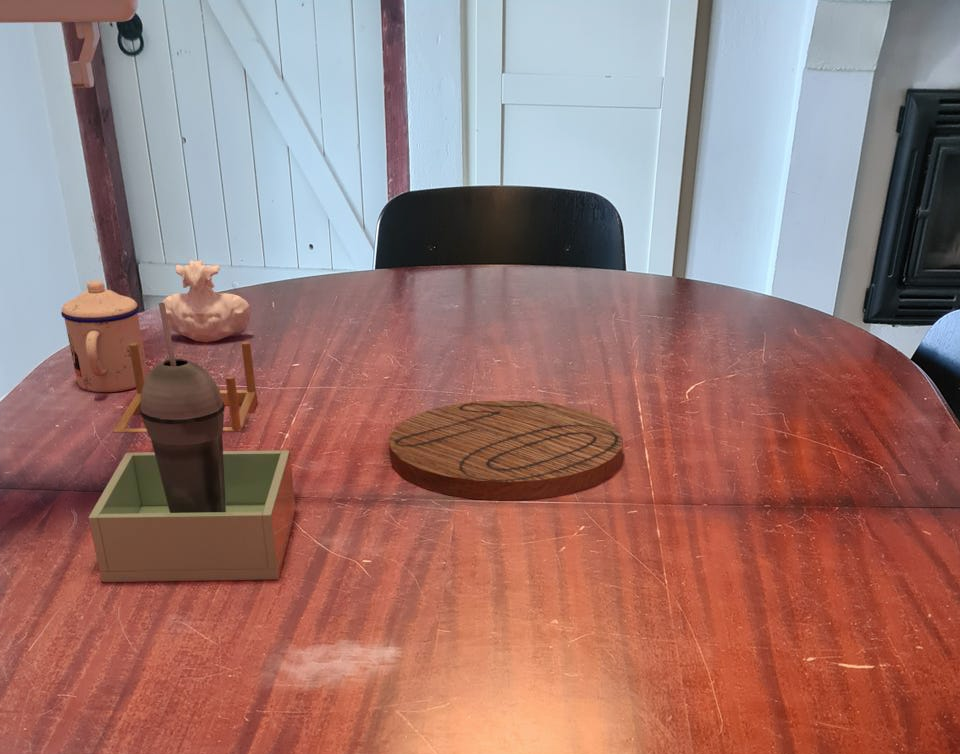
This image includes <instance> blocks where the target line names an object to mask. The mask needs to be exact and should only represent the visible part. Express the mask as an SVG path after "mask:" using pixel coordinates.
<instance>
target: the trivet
mask: <svg viewBox="0 0 960 754" xmlns="http://www.w3.org/2000/svg"><path fill="white" fill-rule="evenodd" d="M623 441H624V437H623V435H622V433H621V432H620V431H619V429H618V428H617V426H616V425H614V424H613V423H611V422H610V421H608V420H607V419H606V418H603V417H601V416H599V415H596V414H594V413H592V412H588V411H586V410H583V409H578V408H575V407H571V406H566V405H562V404H557V403H548V402H541V401H532V400H506V399H505V400H503V399H502V400H484V401H483V400H481V401H472V402H465V403H464V402H463V403H457V404H450V405H445V406H442V407H437V408H433V409H430V410H425V411H423V412H420V413H419V414H416V415H413V416H411V417H408V418H407V419H405V420H404V421H403V422H401V423H400V424H399V425H397V426H396V427H394V428H393V430H392V432H391V434H390V435H389V438H388V449H389V461H390V465H391V468H392V469H393V470H394V471H395V472H396V473H397V474H398V475H399V476H400V477H401V478H402V479H404V480H406V481H408V482H410V483H412V484H413V485H416V486H418V487H420V488H423V489H426V490H429V491H433V492H437V493H440V494H444V495H448V496H452V497H453V496H454V497H460V498H466V499H473V500H491V501H521V500H537V499H538V500H539V499H540V500H541V499H546V498H552V497H558V496H563V495H571V494H573V493H576V492H579V491H582V490H585V489H589V488H592V487H595V486H597V485H598V484H600V483H602V482H604V481H606V480H607V479H609V478H612V476H614V474H615V473H616V472H617V471H618V470H619V468H620V467H621V466H622V465H621V464H622V455H623Z"/></svg>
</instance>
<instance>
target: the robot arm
mask: <svg viewBox="0 0 960 754" xmlns="http://www.w3.org/2000/svg"><path fill="white" fill-rule="evenodd" d="M138 8H139V0H0V24H1V23H2V24H4V23H7V24H11V23H13V24H14V23H19V24H20V23H26V24H27V23H74V25H75V26H74V27H75V32H76V35H77V38H78V39H81V40H82V39H84V41H83V45H82V48H81V52H80V54H79V58H78V60H74V61H71V62H69V63H68V66H69V68H68V69H69V73H70V74H71V79H70V80H71V84H72V87H73V88H93V87H94V86H95V78H94V72H93V67H92V61H93V59H94V57H95V53H96V50H97V47H98V44H99V41H100V38H101V33H100V28H99V23H115V22H116V23H121V22H122V23H123V22H127V21H130V20H132V19H133V18H134V16H135V14H136V13H137V10H138Z"/></svg>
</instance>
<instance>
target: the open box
mask: <svg viewBox="0 0 960 754" xmlns="http://www.w3.org/2000/svg"><path fill="white" fill-rule="evenodd" d="M223 462H224V483H225V503H226V512H205V513H170V511H169V507H168V503H167V499H166V496H165V492H164V488H163V484H162V480H161V476H160V472H159V468H158V464H157V460H156V457H155V453H154V451H143V452H142V451H141V452H140V451H137V452H136V451H135V452H125V453H124V455H123V457H122V459H121V461H120V462H119V464H118V466H117V467H116V469H115V471H114V472H113V475H111V477H110V480H109V481H108V483H107V484H106V487H105V488H104V490H103V492H102V493H101V495H100V497H99V498H98V500H97V502H96V504H95V505H94V506H93V509H92V510H91V512H90V514H89V516H88V523H89V528H90V532H91V538H92V541H93V547H94V552H95V556H96V561H97V566H98V571H99V575H100V581H101V583H133V582H134V583H137V582H139V583H140V582H196V581H197V582H199V581H200V582H203V581H207V582H208V581H254V580H255V581H261V580H262V581H267V580H270V581H271V580H273V581H274V580H279V578H280V574H281V570H282V566H283V563H284V559H285V554H286V551H287V547H288V542H289V539H290V535H291V530H292V526H293V523H294V520H295V519H294V518H295V514H296V512H297V511H296V510H297V509H296V502H295V501H296V498H295V490H294V489H295V488H294V480H293V471H292V469H293V468H292V461H291V451H290V450H289V449H287V450H279V449H278V450H223Z"/></svg>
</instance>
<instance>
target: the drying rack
mask: <svg viewBox="0 0 960 754" xmlns="http://www.w3.org/2000/svg"><path fill="white" fill-rule="evenodd" d="M240 344H241V351H242V360H243V368H244V377H245V384H246V389H237V385H236V384H237V383H236V376H234V375H227V376H225V387H226V389H219V391H220V394H221V398H222V401H223V403H224V405H225V406H228V409H229V415H230V416H229V417H230V423H231V426H223V432H241V431H242V428H243V426H244V424H245V421H246V419H247V416H248V414H254V412H255V409H256V407H257V404H258V394H257V390H256V383H255V382H256V381H255V374H254V373H255V372H254V365H253V364H254V363H253V356H252V346H251V342H250V341H242V342H241V343H240ZM129 349H130V354H131V360H132V366H133V372H134V377H135V383H136V388H135V389H136V394H135V396H134V397H133V399H132V401H131V402H130V403H129V405H128V407H127V409H126V410H125V412H124V413H123V415H122V416H121V418H120V419H119V421H118V423H117V424H116V426H115V428H114V429H113V431H112V433H115V434H123V433H124V434H125V433H126V434H128V433H129V434H131V433H148V432H147V430H146V427H142V428H141V427H137V428H135V427H134V428H132V427H131V428H129V427H128V428H126V427H127V426H128V424H129V423H130V421H131V419H132V417H133V416H141V415H140V409H141V392H142V388H143V385H144V378H143V373H142V367H141V361H140V355H139V349H138V344H137V343H130V344H129ZM239 406H240V408H239Z"/></svg>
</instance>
